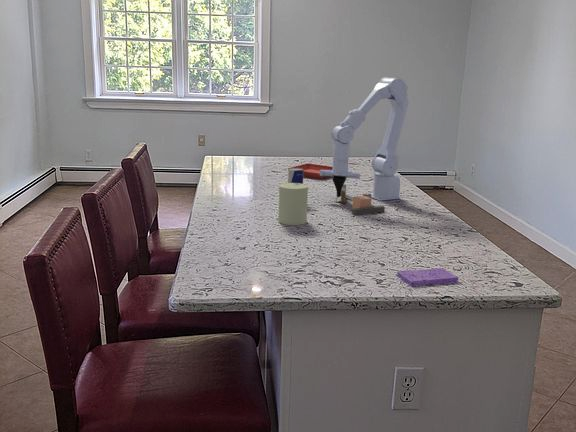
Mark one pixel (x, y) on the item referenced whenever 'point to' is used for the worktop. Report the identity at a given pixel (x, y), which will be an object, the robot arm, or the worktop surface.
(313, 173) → the plant saucer
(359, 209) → the kerb
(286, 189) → the can
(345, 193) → the frame
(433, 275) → the sponges
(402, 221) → the worktop surface
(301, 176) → the energy drink
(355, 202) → the block
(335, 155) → the robot arm
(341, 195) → the brown long flat bar
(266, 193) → the worktop surface
